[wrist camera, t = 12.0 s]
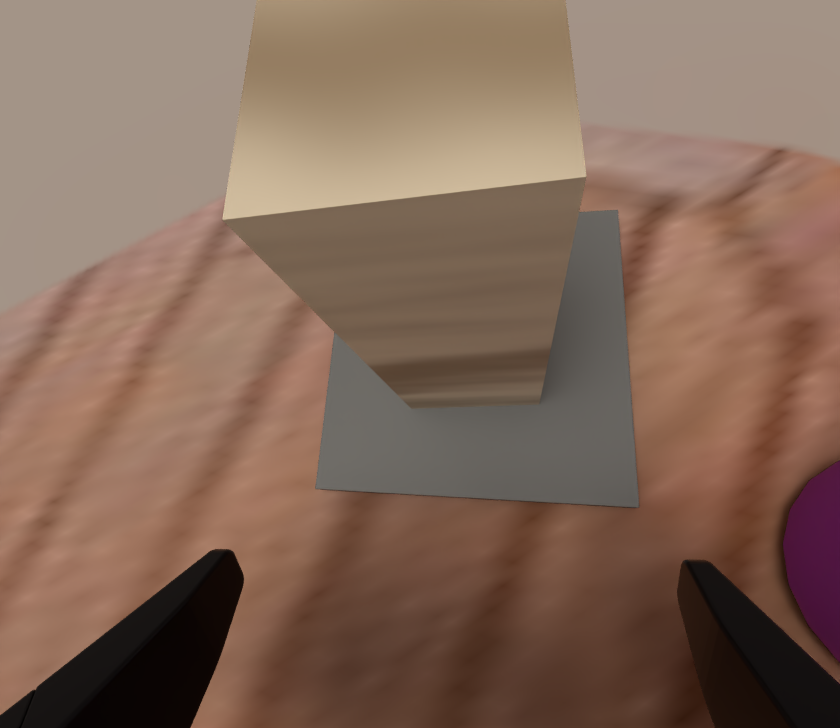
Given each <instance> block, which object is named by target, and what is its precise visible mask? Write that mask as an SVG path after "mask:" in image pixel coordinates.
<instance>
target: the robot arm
mask: <svg viewBox="0 0 840 728" xmlns="http://www.w3.org/2000/svg"><path fill="white" fill-rule="evenodd" d="M243 583H244V576H243V572H242V570H241V568H240V566H239V563H238V561H237V559H236V556H235V554H234V552H233V551H231V550H229V549H214V550H212V551H210V552H208V553H207V554H206V555H205V556H203V557H202V558H201V559H200V560H198V561H197V562H196V563H194V564H193V565H192V566H191V567H189V568H188V569H187V570H185V571H184V572H183V573H182V574H180V575H179V576H178V577H177V578H175V579H174V580H173V581H171V582H170V583H169V584H168V585H166V586H165V587H164V588H162V589H161V590H160V591H159V592H157V593H156V594H155V595H154V596H152V597H151V598H150V599H148V600H147V601H146V602H145V603H143V604H142V605H141V606H140V607H138V608H137V609H136V610H134V611H133V612H132V613H131V614H129V615H128V616H127V617H125V618H124V619H123V620H122V621H120V622H119V623H118V624H117V625H115V626H114V627H113V628H111V629H110V630H109V631H108V632H106V633H105V634H104V635H103V636H101V637H100V638H99V639H97V640H96V641H95V642H94V643H92V644H91V645H90V646H88V647H87V648H86V649H85V650H83V651H82V652H81V653H80V654H78V655H77V656H76V657H74V658H73V659H72V660H71V661H69V662H68V663H67V664H65V665H64V666H63V667H62V668H60V669H59V670H58V671H57V672H55V673H54V674H53V675H51V676H50V677H49V678H48V679H46V680H45V681H44V682H42V683H41V684H40V685H39V686H38V687H37V688H36V690H32V691H31V692H30V693H28V694H27V695H26V696H24V697H23V698H22V699H21V700H19V701H18V702H17V703H16V704H14V705H13V706H12V707H10V708H9V709H8V710H6V711H5V712H4V713H3V714H1V715H0V728H190V727H191V725H192V723H193V720H194V718H195V716H196V713H197V711H198V709H199V706H200V704H201V702H202V699H203V697H204V695H205V692H206V690H207V687H208V685H209V683H210V680H211V678H212V676H213V673H214V671H215V668H216V666H217V663H218V661H219V658H220V656H221V653H222V650H223V647H224V644H225V641H226V638H227V635H228V632H229V628H230V625H231V622H232V619H233V616H234V613H235V610H236V607H237V604H238V601H239V597H240V594H241V591H242V588H243ZM677 596H678V602H679V606H680V610H681V614H682V618H683V622H684V625H685V629H686V633H687V637H688V641H689V644H690V648H691V652H692V656H693V659H694V663H695V667H696V671H697V675H698V678H699V682H700V686H701V689H702V693H703V696H704V699H705V701H706V704H707V707H708V710H709V713H710V715H711V718H712V721H713V723H714V726H715V728H840V684H839V683H838V682H837V681H836V680H835V679H834V678H833V677H832V676H831V675H829V674H828V673H827V672H826V671H825V670H824V669H823V668H822V667H821V666H820V665H819V664H818V663H817V662H816V661H815V660H814V659H812V658H811V657H810V656H809V655H808V654H807V653H806V652H805V651H804V650H803V649H802V648H801V647H800V646H799V645H798V644H797V643H796V642H794V641H793V640H792V639H791V638H790V637H789V636H788V635H787V634H786V633H785V632H784V631H783V630H782V629H781V628H780V627H779V626H778V625H776V624H775V623H774V622H773V621H772V620H771V619H770V618H769V617H768V616H767V615H766V614H765V613H764V612H763V611H762V610H761V609H759V608H758V607H757V606H756V605H755V604H754V603H753V602H752V601H751V600H750V599H749V598H748V597H747V596H746V595H745V594H744V593H743V592H741V591H740V590H739V589H738V588H737V587H736V586H735V585H734V584H733V583H732V582H731V581H730V580H729V579H728V578H727V577H726V576H724V575H723V574H722V573H721V572H720V571H719V570H718V569H717V568H716V567H715V566H714V565H713V564H712V563H710V562H708V561H706V560H684V561H683V562H682V565H681V570H680V576H679V582H678V588H677Z"/></svg>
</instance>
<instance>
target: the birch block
mask: <svg viewBox="0 0 840 728" xmlns="http://www.w3.org/2000/svg"><path fill="white" fill-rule="evenodd" d="M585 181H586V169H585V161H584V153H583V144H582V136H581V127H580V119H579V110H578V102H577V94H576V85H575V77H574V69H573V60H572V51H571V43H570V35H569V26H568V18H567V9H566V2H565V0H257V2H256V9H255V15H254V22H253V28H252V34H251V40H250V47H249V53H248V60H247V66H246V72H245V79H244V85H243V91H242V98H241V104H240V111H239V117H238V123H237V130H236V136H235V142H234V149H233V155H232V162H231V168H230V175H229V181H228V187H227V193H226V200H225V206H224V212H223V219H222V220H223V221H224V222H225V223H226V224H227V225H228V226H229V227H230V228H231V229H232V230H233V231H234V232H235V233H236V234H237V235H238V236H239V237H240V238H241V239H242V240H243V241H244V242H245V243H246V244H247V245H248V246H249V247H250V248H251V249H252V250H253V251H254V252H255V253H256V254H257V255H258V256H259V257H260V258H261V259H262V260H263V261H264V262H265V263H266V264H267V265H268V266H269V267H270V268H271V269H272V270H273V271H274V272H275V273H276V274H277V275H278V276H279V277H280V278H281V279H282V280H283V281H284V282H285V283H286V284H287V285H288V286H289V287H290V288H291V289H292V290H293V291H294V292H295V293H296V294H297V295H298V296H299V297H300V298H301V299H302V300H303V301H304V302H305V303H306V304H307V305H308V306H309V307H310V308H311V309H312V310H313V311H314V312H315V313H316V314H317V315H318V316H319V317H320V318H321V319H322V320H323V321H324V322H325V323H326V324H327V325H328V326H329V327H330V328H331V329H332V330H333V331H334V332H335V333H336V334H337V335H338V336H339V337H340V338H341V339H342V340H343V341H344V342H345V343H346V344H347V345H348V346H349V347H350V348H351V349H352V350H353V351H354V352H355V353H356V354H357V355H358V356H359V357H360V358H361V359H362V360H363V361H364V362H365V363H366V364H367V365H368V366H369V367H370V368H371V369H372V370H373V371H374V372H375V373H376V374H377V375H378V376H379V377H380V378H381V379H382V380H383V381H384V382H385V383H386V384H387V385H388V386H389V387H390V388H391V389H392V390H393V391H394V392H395V393H396V394H397V395H398V396H399V397H400V398H401V399H402V400H403V401H404V402H405V403H406V404H407V405H408V406H409V407H410V408H411V409H420V408H450V407H479V406H509V405H539V403H540V398H541V393H542V388H543V384H544V379H545V374H546V369H547V364H548V359H549V355H550V350H551V345H552V340H553V335H554V330H555V326H556V321H557V316H558V311H559V306H560V302H561V297H562V292H563V287H564V282H565V277H566V273H567V268H568V263H569V258H570V253H571V248H572V244H573V239H574V234H575V229H576V224H577V220H578V215H579V210H580V205H581V200H582V195H583V191H584V186H585Z"/></svg>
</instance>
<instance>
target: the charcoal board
mask: <svg viewBox="0 0 840 728" xmlns="http://www.w3.org/2000/svg"><path fill="white" fill-rule="evenodd" d="M315 489H322V490H338V491H355V492H372V493H389V494H406V495H423V496H441V497H458V498H475V499H492V500H509V501H526V502H543V503H560V504H577V505H594V506H611V507H629V508H639V497H638V483H637V469H636V455H635V441H634V427H633V413H632V400H631V386H630V372H629V358H628V344H627V330H626V316H625V302H624V288H623V274H622V261H621V247H620V233H619V219H618V210H607V211H591V212H579V215H578V220H577V224H576V229H575V234H574V239H573V244H572V248H571V253H570V258H569V263H568V268H567V273H566V277H565V282H564V287H563V292H562V297H561V302H560V306H559V311H558V316H557V321H556V326H555V330H554V335H553V340H552V345H551V350H550V355H549V359H548V364H547V369H546V374H545V379H544V384H543V388H542V393H541V398H540V403H539V405H509V406H479V407H450V408H420V409H411V408H410V407H409V406H408V405H407V404H406V403H405V402H404V401H403V400H402V399H401V398H400V397H399V396H398V395H397V394H396V393H395V392H394V391H393V390H392V389H391V388H390V387H389V386H388V385H387V384H386V383H385V382H384V381H383V380H382V379H381V378H380V377H379V376H378V375H377V374H376V373H375V372H374V371H373V370H372V369H371V368H370V367H369V366H368V365H367V364H366V363H365V362H364V361H363V360H362V359H361V358H360V357H359V356H358V355H357V354H356V353H355V352H354V351H353V350H352V349H351V348H350V347H349V346H348V345H347V344H346V343H345V342H344V341H343V340H342V339H341V338H340V337H339V336H338V335H337V334H336V333H335V332H334V340H333V348H332V356H331V364H330V373H329V381H328V389H327V397H326V405H325V414H324V422H323V430H322V438H321V446H320V455H319V463H318V471H317V479H316V487H315Z"/></svg>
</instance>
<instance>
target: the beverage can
mask: <svg viewBox="0 0 840 728" xmlns="http://www.w3.org/2000/svg"><path fill="white" fill-rule="evenodd" d="M783 549H784V556H785V563H786V569H787V576H788V583H789V586H790V588H791V590H792V592H793V594H794V596H795V599H796V601H797V603H798V605H799V607H800V609H801V611H802V613H803V616H804V618H805V620H806V622H807V624H808V626H809V627H810V628H811V629H812V630H813V632H814V633H815V634H816V635H817V636H818V638H819V639H820V640H821V641H822V642H823V644H824V645H825V646H826V647H827V648H828V649H829V651H830V652H831V653H832V654H833V655H834V657H835V658H836V659H837V660H838V661H839V663H840V461H838V462H836V463H835V464H833V465H832V466H830V467H829V468H827V469H826V470H824V471H823V472H821V473H820V474H818V475H817V476H815V477H814V478H812V479H811V480H809V482H808V483H807V485H806V486H805V488H804V489H803V491H802V492H801V494H800V495H799V497H798V498H797V500H796V501H795V503H794V504H793V505H792V507H791V508H790V512H789V517H788V522H787V526H786V531H785V536H784V541H783Z"/></svg>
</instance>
